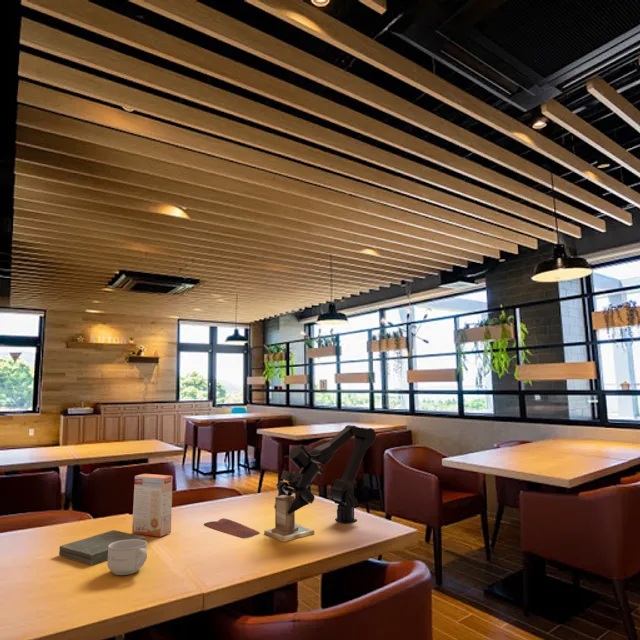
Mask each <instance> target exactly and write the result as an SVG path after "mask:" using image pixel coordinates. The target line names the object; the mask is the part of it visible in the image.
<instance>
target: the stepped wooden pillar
mask: <svg viewBox="0 0 640 640" xmlns="http://www.w3.org/2000/svg"><path fill="white" fill-rule="evenodd" d="M294 499H295V495H294V496H293V495H291V496H288V495H280V496H278V495H277V496H275V500H274V502H275V503H274V506H275V508H274V511H275V513H274V514H275V516H274V523H275V526H274V527H273V529H272V528H271V529H272V532H274V533H279V534H284V535H288V534H290V533H293V532H295V531H297V530H298V527H295V523H296V520H295V519H296V518H295V517H296V515H295V513H296V511H294V512H293V513H291V514H288V513H287V512H288V510H289V508H290V506H291V505H292V503H293V501H294Z"/></svg>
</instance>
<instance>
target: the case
mask: <svg viewBox="0 0 640 640" xmlns="http://www.w3.org/2000/svg"><path fill="white" fill-rule="evenodd" d="M131 539H138V540H145V541H146V537H145V536H143V535H139V534H135V533H130V532H129V533H128V532H123V531H119V530H115V529H114V530H109V531H105V532H102V533H99V534H96V535H92V536H90V537H85V538H83V539H82V538H81V539H79V540H75V541H72V542H68V543H65V544H63V545H60V546H59V548H58V549H59V551H58V552H59V553H58V555H59V557H62V558H66V559H69V560H71V561H75V562H79V563H82V564H86V565H89V566H93V565H97V564H100V563H103V562H105V561H108V546H109V544H111V543H114V542H117V541H122V540H131Z"/></svg>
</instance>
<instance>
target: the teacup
mask: <svg viewBox="0 0 640 640" xmlns="http://www.w3.org/2000/svg"><path fill="white" fill-rule="evenodd" d="M147 545H148V541H146V539H145V540H138V539H131V540H122V541H117V542H114V543H111V544H109V546H108V560H107V569H109V571H111V572H112V574H114V575H117V576H126V575H127V576H128V575H132V574H135V573H137V572H138V571H139V570H140V569H141V568H142V567H143V566H144V565H145V563H146V561H147V558H148V552H147Z"/></svg>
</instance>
